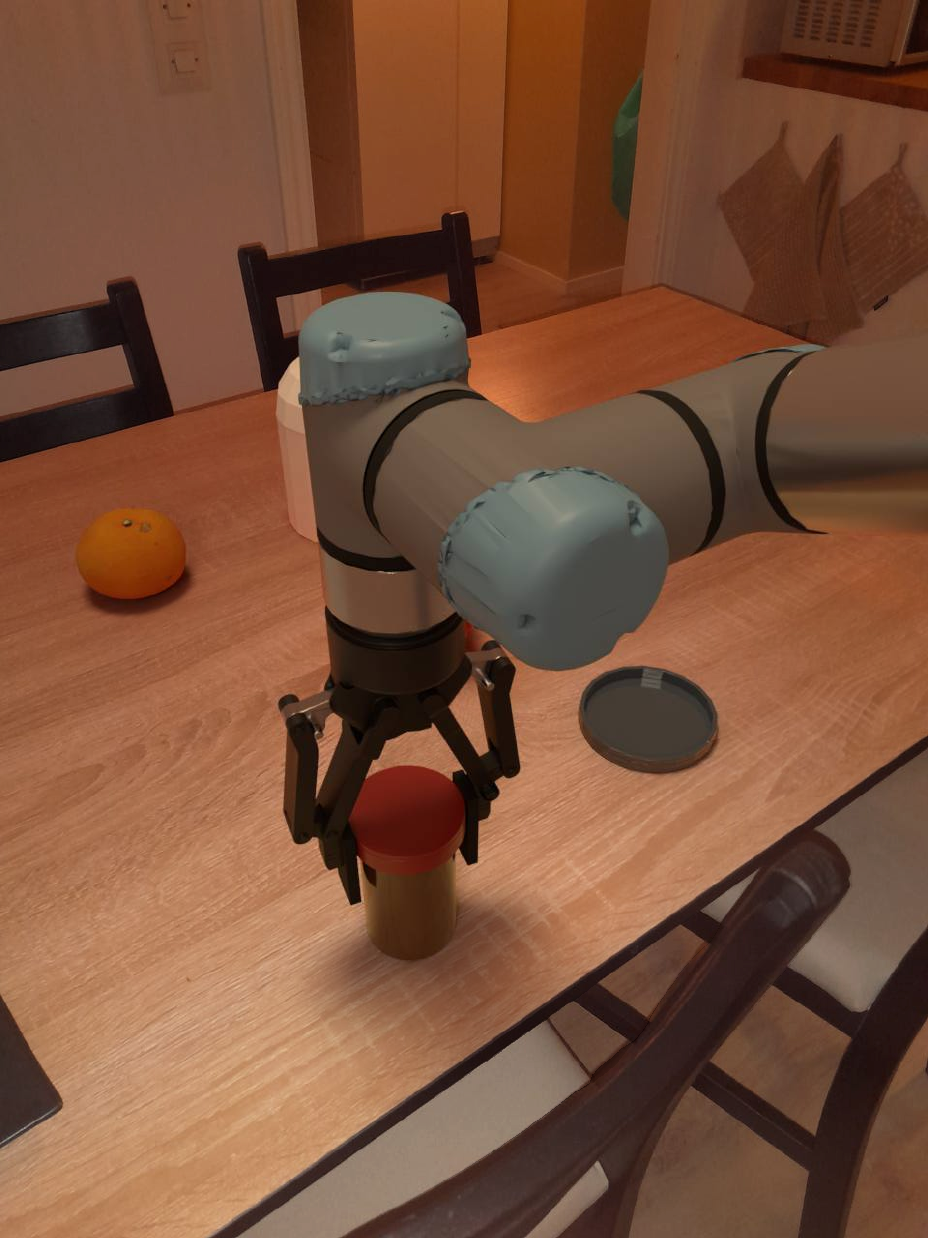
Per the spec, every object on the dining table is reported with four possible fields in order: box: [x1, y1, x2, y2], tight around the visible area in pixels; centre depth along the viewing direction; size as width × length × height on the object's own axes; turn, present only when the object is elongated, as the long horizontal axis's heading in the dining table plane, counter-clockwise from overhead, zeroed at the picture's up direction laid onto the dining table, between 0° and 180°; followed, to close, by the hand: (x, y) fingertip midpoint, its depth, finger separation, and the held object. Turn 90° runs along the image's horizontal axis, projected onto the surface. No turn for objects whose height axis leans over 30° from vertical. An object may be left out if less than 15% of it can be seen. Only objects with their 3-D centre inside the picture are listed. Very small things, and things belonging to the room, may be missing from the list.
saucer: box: [577, 665, 719, 774], centre depth 84 cm, size 12×12×2 cm
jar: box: [359, 852, 457, 961], centre depth 65 cm, size 6×6×12 cm
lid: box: [348, 764, 465, 875], centre depth 62 cm, size 8×8×2 cm
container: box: [275, 356, 318, 543], centre depth 106 cm, size 14×13×20 cm
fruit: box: [75, 507, 187, 600], centre depth 98 cm, size 10×10×8 cm
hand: (408, 868), depth 65 cm, fingers closed on lid, 8 cm apart
